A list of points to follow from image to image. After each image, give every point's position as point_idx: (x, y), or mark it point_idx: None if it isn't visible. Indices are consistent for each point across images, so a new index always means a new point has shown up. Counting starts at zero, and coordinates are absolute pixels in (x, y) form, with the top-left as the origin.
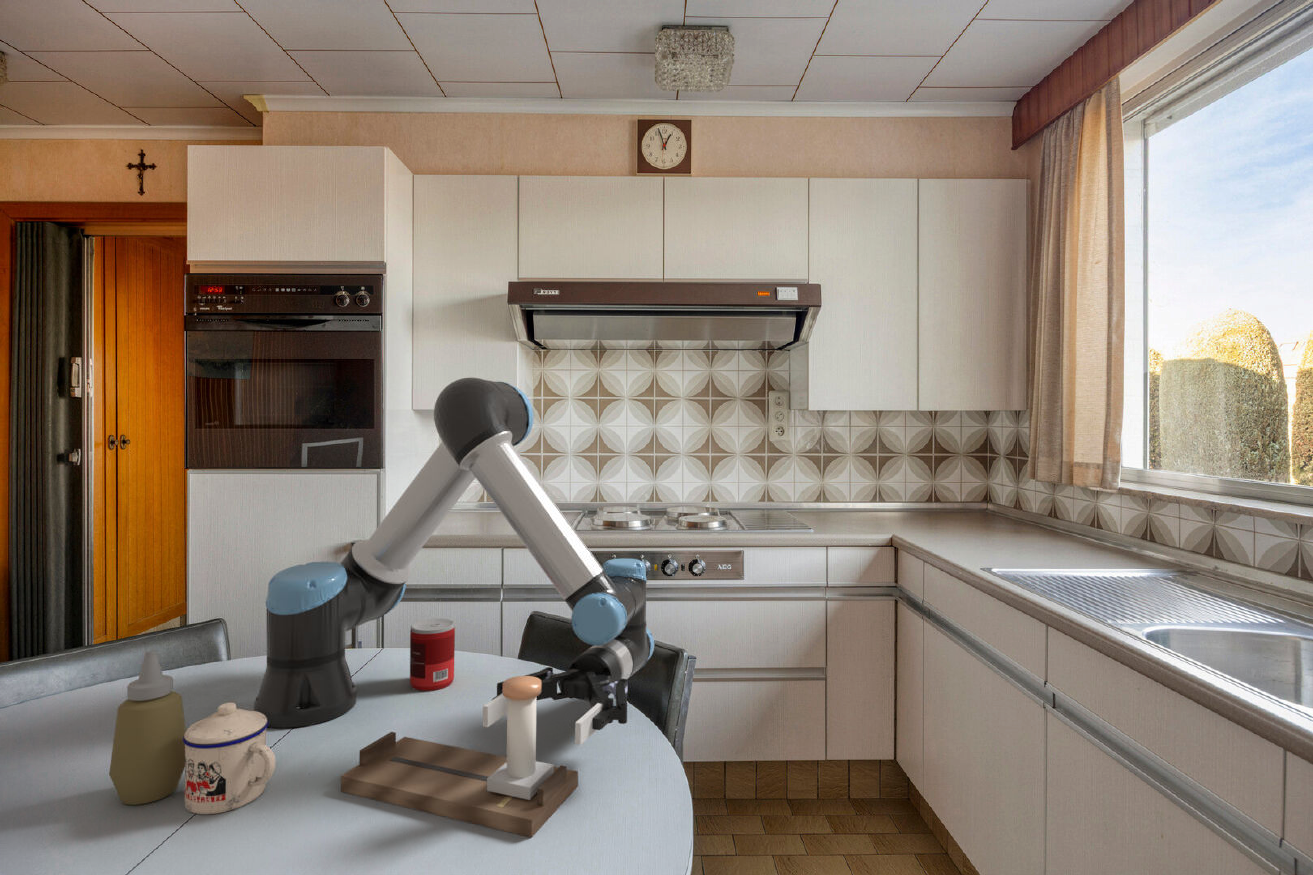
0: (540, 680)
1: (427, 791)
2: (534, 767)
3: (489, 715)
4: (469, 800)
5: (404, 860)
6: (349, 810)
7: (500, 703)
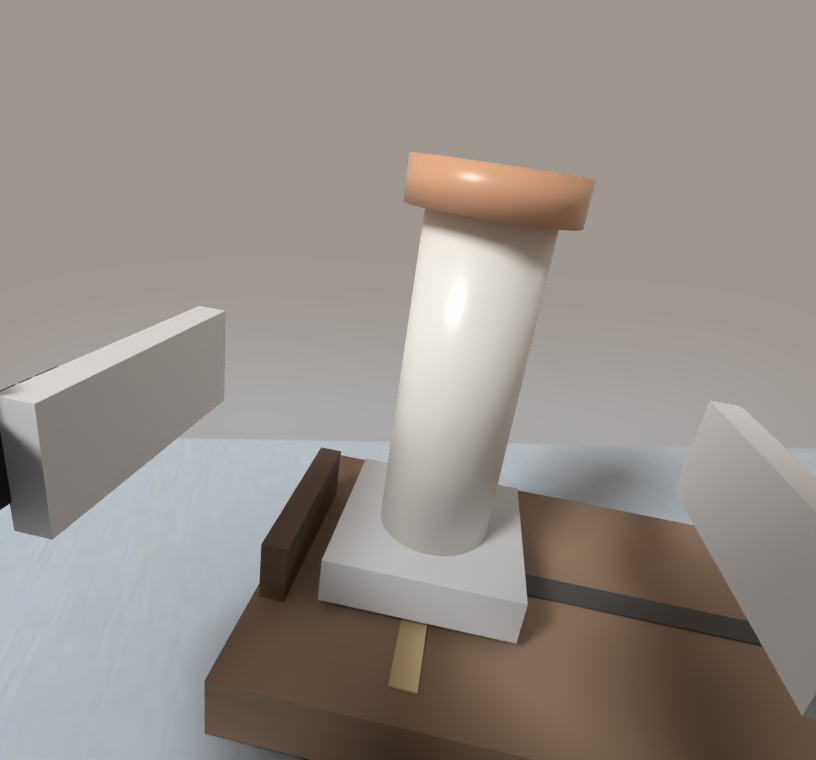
0: (428, 154)
1: (673, 533)
2: (383, 494)
3: (698, 454)
4: (531, 506)
5: (539, 449)
6: None
7: (752, 487)
